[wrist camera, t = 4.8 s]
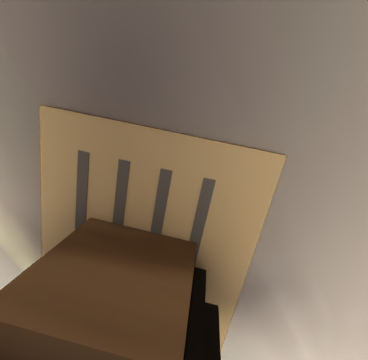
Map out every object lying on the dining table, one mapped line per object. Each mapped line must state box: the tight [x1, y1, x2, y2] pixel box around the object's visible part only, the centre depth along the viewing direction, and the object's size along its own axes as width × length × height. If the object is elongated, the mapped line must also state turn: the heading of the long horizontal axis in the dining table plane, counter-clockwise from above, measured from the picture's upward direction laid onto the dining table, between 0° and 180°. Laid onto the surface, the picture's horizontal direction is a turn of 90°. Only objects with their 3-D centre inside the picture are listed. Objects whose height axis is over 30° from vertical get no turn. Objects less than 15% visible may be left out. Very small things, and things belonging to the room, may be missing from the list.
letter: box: [40, 105, 287, 351], centre depth 10 cm, size 14×10×1 cm
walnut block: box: [0, 218, 197, 360], centre depth 8 cm, size 5×5×5 cm
